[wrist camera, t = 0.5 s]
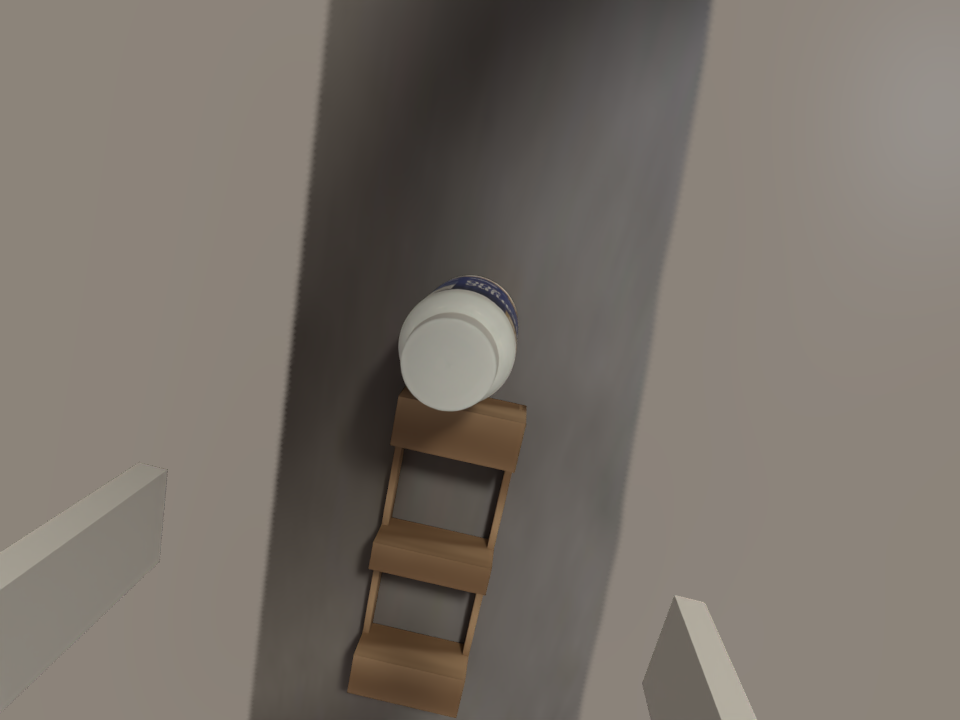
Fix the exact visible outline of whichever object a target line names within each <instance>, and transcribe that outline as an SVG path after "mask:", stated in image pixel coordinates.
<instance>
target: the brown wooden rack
mask: <svg viewBox="0 0 960 720" xmlns="http://www.w3.org/2000/svg"><path fill="white" fill-rule="evenodd" d="M525 427H526V406H525V405H520V404H516V403H511V402H507V401H502V400H497V399H493V398H486V399H484V400H482V401H480V402H478V403H476V404H475V405H473V406H471V407H469V408H466V409H463V410H459V411H441V410H437V409H434V408H431V407H429V406H427V405H425V404H423V403H422V402H420V401H419V400H418V399H417V398H416V397H414V396H413V394H412V393H411V392H410V390H409V389H408V388H407V386H405V388H404V389H403V390H402V392H401V393H400V395H399V396H398V402H397V408H396V413H395V419H394V425H393V431H392V436H391V442H390V445H392V446H395V451H394V457H393V463H392V468H391V474H390V480H389V485H388V491H387V497H386V502H385V508H384V514H383V519H382V525H381V527H380V529H379V531H378V533H377V535H376V537H375V539H374V542H373V546H372V552H371V558H370V563H369V569H371V570H374V571H373V576H372V582H371V588H370V593H369V599H368V605H367V610H366V616H365V622H364V627H363V632H362V635H361V638H360V640H359V643H358V645H357V648H356V650H355V653H354V656H353V662H352V667H351V673H350V679H349V685H348V690H347V693H352V694H356V695H360V696H364V697H369V698H373V699H377V700H381V701H386V702H390V703H394V704H398V705H403V706H407V707H411V708H415V709H420V710H424V711H428V712H432V713H437V714H441V715H445V716H449V717H454V718H456V716H457V712H458V708H459V704H460V700H461V695H462V691H463V687H464V683H465V677H466V670H467V663H468V656H469V652H470V647H471V643H472V639H473V635H474V631H475V626H476V622H477V618H478V614H479V609H480V605H481V601H482V597H483V595H486V590H487V586H488V582H489V578H490V574H491V569H492V560H493V551H494V546H495V542H496V538H497V533H498V529H499V525H500V521H501V517H502V512H503V508H504V504H505V500H506V495H507V491H508V487H509V483H510V478H511V474H512V472H513V473H515V469H516V464H517V460H518V456H519V452H520V448H521V443H522V439H523V435H524V431H525ZM404 448H406V449H410V450H415V451H419V452H423V453H428V454H432V455H437V456H441V457H446V458H450V459H455V460H459V461H464V462H468V463H473V464H477V465H482V466H486V467H491V468H495V469H500V470H504V474H503V478H502V483H501V487H500V491H499V496H498V500H497V504H496V509H495V513H494V517H493V521H492V526H491V530H490V534H489V539H485V538H481V537H476V536H472V535H467V534H463V533H459V532H454V531H450V530H445V529H441V528H436V527H432V526H428V525H423V524H419V523H414V522H410V521H406V520H401V519H397V518H392V513H393V508H394V502H395V497H396V491H397V486H398V480H399V474H400V469H401V463H402V458H403V452H404ZM382 572H385V573H389V574H393V575H398V576H402V577H406V578H411V579H415V580H419V581H424V582H428V583H433V584H437V585H441V586H446V587H450V588H454V589H459V590H463V591H468V592H472V593H476V594H475V599H474V603H473V607H472V612H471V616H470V620H469V625H468V629H467V633H466V637H465V642H464V644H462V643H457V642H453V641H449V640H444V639H440V638H436V637H432V636H427V635H423V634H419V633H414V632H410V631H406V630H401V629H397V628H393V627H388V626H384V625H380V624H375V623H373V618H374V613H375V607H376V602H377V596H378V591H379V585H380V580H381V574H382Z"/></svg>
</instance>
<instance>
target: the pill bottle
mask: <svg viewBox="0 0 960 720" xmlns="http://www.w3.org/2000/svg"><path fill="white" fill-rule="evenodd" d="M517 337H518V315H517V311H516V308H515V305H514V303H513V301H512V299H511V298H510V296H509V294H508V293H507V292H506V291H505V290H504V289H503V288H502V287H501V286H499V285H498V284H497V283H495V282H493V281H491V280H489V279H487V278H484V277H481V276H473V275H467V276H460V277H456V278H453V279H451V280H449V281H447V282H445V283H444V284H442V285H440V286H439V287H438V288H437V289H435V290H434V291H433V292H432V293H430V294H429V295H428V296H427V297H426V298H424V299H423V300H422V301H420V302H419V303H418V304H417V305H416V306H415V307H414V308H413V309H412V311H411V312H410V313H409V315H408V316H407V318H406V320H405V321H404V323H403V326H402V328H401V332H400V336H399V344H398V351H399V358H400V362H401V363H400V365H401V373H402V376H403V379H404V382H405V384H406V386H407V388H408V389H409V390H410V392H411V393H412V394H413V396H414V397H416V398H417V399H418V400H419V401H420V402H422V403H423V404H425V405H427V406H429V407H431V408H434V409H437V410H441V411H459V410H463V409H466V408H469V407H471V406H473V405H475V404H476V403H478V402H480V401H482V400H484V399H486V398H488V397H489V396H491V395H492V394H494V393H495V392H496V391H497V390H498V389H500V387H501V386H502V385H503V384H504V383H505V381H506V380H507V378H508V376H509V375H510V372H511V370H512V367H513V365H514V361H515V355H516V347H517Z"/></svg>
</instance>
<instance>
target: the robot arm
mask: <svg viewBox="0 0 960 720" xmlns="http://www.w3.org/2000/svg"><path fill="white" fill-rule="evenodd" d="M167 472H168V470H167V469H164V468H160V467H155V466H151V465H147V464H143V463H137V464H136V465H134V466H132V467H131V468H129V469H128V470H126V471H125V472H123V473H122V474H120V475H119V476H117V477H115V478H114V479H112V480H111V481H109V482H108V483H106V484H105V485H103V486H102V487H100V488H99V489H97V490H95V491H94V492H92V493H91V494H89V495H88V496H86V497H85V498H83V499H81V500H80V501H78V502H77V503H75V504H74V505H72V506H71V507H69V508H67V509H66V510H64V511H63V512H61V513H60V514H58V515H57V516H55V517H54V518H52V519H51V520H49V521H47V522H46V523H44V524H43V525H41V526H40V527H38V528H37V529H35V530H33V531H32V532H30V533H29V534H27V535H26V536H24V537H23V538H21V539H20V540H18V541H16V542H15V543H14V544H12V545H10V546H9V547H7V548H6V549H4V550H3V551H1V552H0V713H1V712H2V711H3V710H4V709H5V708H6V707H7V706H8V705H9V704H11V703H12V702H13V701H14V700H15V699H16V698H17V697H18V696H19V695H20V694H21V693H22V692H23V691H24V690H25V689H26V688H27V687H29V686H30V685H31V684H32V683H33V682H34V681H35V680H36V679H37V678H38V677H39V676H40V675H41V674H42V673H43V672H44V671H45V670H46V669H47V668H48V667H49V666H50V665H52V664H53V662H55V661H56V660H57V659H58V658H59V657H60V656H61V655H62V654H63V653H64V652H65V651H66V650H67V649H68V648H69V647H71V646H72V645H73V644H74V643H75V642H76V641H77V640H78V639H79V638H80V637H81V636H82V635H83V634H84V633H85V632H86V631H87V630H88V629H89V628H90V627H92V626H93V625H94V624H95V623H96V622H97V621H98V620H99V619H100V618H101V617H102V616H103V615H104V614H105V613H106V612H107V611H108V610H109V609H110V608H111V607H113V605H115V604H116V603H117V602H118V601H119V600H120V599H121V598H122V597H123V596H124V595H125V594H126V593H127V592H128V591H129V590H130V589H131V588H132V587H134V586H135V585H136V584H137V583H138V582H139V581H140V580H141V579H142V578H143V577H144V576H145V575H146V574H147V573H148V572H149V571H150V570H151V569H152V568H154V567H155V566H156V565H157V564H158V563H159V560H160V550H161V539H162V528H163V516H164V506H165V494H166V484H167ZM642 684H643V689H644V693H645V697H646V702H647V706H648V710H649V714H650V718H651V720H757V719H756V716H755V714H754V712H753V710H752V707H751V705H750V703H749V701H748V699H747V697H746V694H745V692H744V690H743V687H742V685H741V683H740V681H739V678H738V676H737V674H736V672H735V669H734V667H733V665H732V663H731V660H730V658H729V656H728V654H727V651H726V649H725V647H724V645H723V643H722V640H721V638H720V636H719V633H718V631H717V629H716V627H715V624H714V622H713V620H712V618H711V615H710V613H709V611H708V609H707V606H706V604H705V603H704V602H700V601H697V600H692V599H689V598H684V597H681V596H676V595H675V596H674V598H673V601H672V603H671V606H670V609H669V612H668V614H667V617H666V620H665V623H664V625H663V628H662V631H661V633H660V636H659V639H658V642H657V644H656V647H655V650H654V652H653V655H652V658H651V661H650V663H649V666H648V669H647V672H646V674H645V677H644V680H643V682H642Z"/></svg>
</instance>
